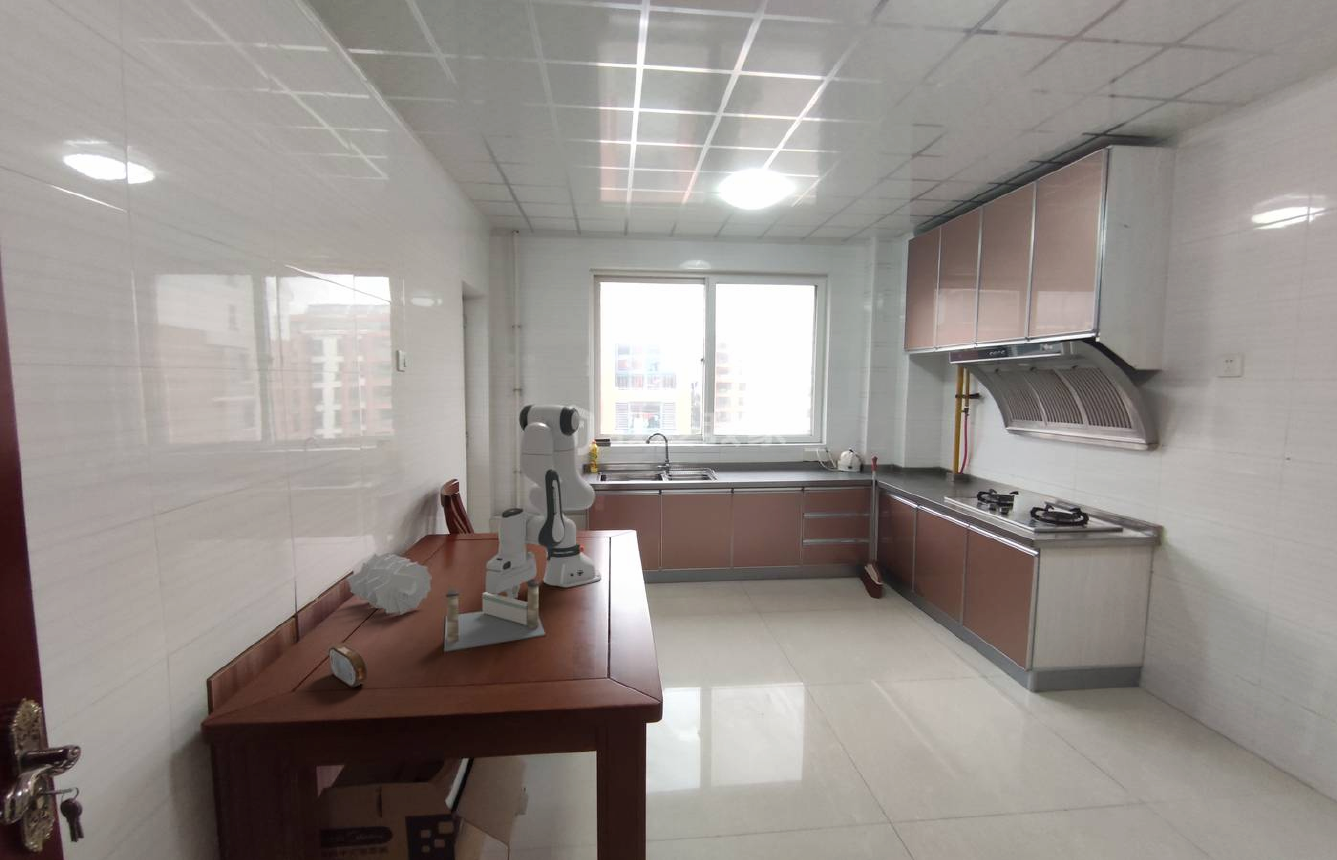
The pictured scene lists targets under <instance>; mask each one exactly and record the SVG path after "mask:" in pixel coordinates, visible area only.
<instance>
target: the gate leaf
mask: <svg viewBox="0 0 1337 860" xmlns="http://www.w3.org/2000/svg"><path fill="white" fill-rule="evenodd" d="M481 599H482V611H483V613H486V614H489V615H493V616H496V617H500V618H503V619H507V620H510V621H514V622H517V623H521V624H524V625H528V601H524V600H519V599H517V598H515V599H513V598H509V597H508V596H505V595H501V594H496V595H493V594H489V593H488V592H487V591H485V592H482V598H481Z"/></svg>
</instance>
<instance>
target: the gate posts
mask: <svg viewBox="0 0 1337 860" xmlns="http://www.w3.org/2000/svg"><path fill="white" fill-rule="evenodd" d="M526 586H527V602H528V629H536V628H538V616H539V586H540V581H539V579H538V580H537V579H530V580H528V581H526ZM459 593H460V592H459V589H458V588H457V589H448V590H446V591H445V598H446V616H447V643H448V642H454V641H459V634H458V615H459Z"/></svg>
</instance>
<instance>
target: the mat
mask: <svg viewBox="0 0 1337 860" xmlns="http://www.w3.org/2000/svg"><path fill="white" fill-rule="evenodd" d="M444 625H445V626H444V628H445V629H444V645H443V646H444V648H443V651H444V653H446V652H447V653H448V652H451V651H452V652H453V651H459V650H464V649H471V648H476V647H482V646H489V645H493V644H494V645H495V644H501V643H502V644H503V643H506V642H514V641H519V640H526V639H532V638H537V637H544V636H545V637H546V632H545V629H544V627H543V624H542V621H541V619H540V616H539V615H538V628H536V629H528V625H524V624H521V623H517V622H514V621H510V620H507V619H503V618H500V617H496V616H493V615H489V614H486V613H483V610H482V611H475V612H474V611H473V612H467V613H461V614H460V613H458V634H459V641H454V642H448V643H447V615H446V616H445V624H444Z"/></svg>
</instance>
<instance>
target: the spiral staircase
mask: <svg viewBox="0 0 1337 860" xmlns="http://www.w3.org/2000/svg"><path fill="white" fill-rule="evenodd" d="M346 578H347V579H346V580H347V582H348V584H349V587H350V591H349V592H351V593H352V594H354V595H356V596H358V597H359V601H364V600H365V601H368V602H369V605H370V606H371V605H375V607H374V608H375V609H385V610H386V611H385V614H394V613H399V615H400V616H402V615H404V614H405V613H407V612H408V611H410V610H412V609H414V610H416V609H417V607H418V606H419V605H420V603H421V602H422V600H423V599H427V597H428V594H429V593H428V592H432V590H431V580H432V579H433V576H432V575H431V574H430V573H429V571H428V566H426V565H421V564H419V562H418V561H416V562H411V559H410V558H409V559H407V557H401V556H400V555H397V554H390V552H389V551H387V552H384V553H381V554H377V553H374V554H373V556H371V558H369V559H368V560H367V561H366V562H363V563H362V565H361V569H360V570H359V571H358V572H356V573H354V574H352V575H351V576H349V577H346Z"/></svg>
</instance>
